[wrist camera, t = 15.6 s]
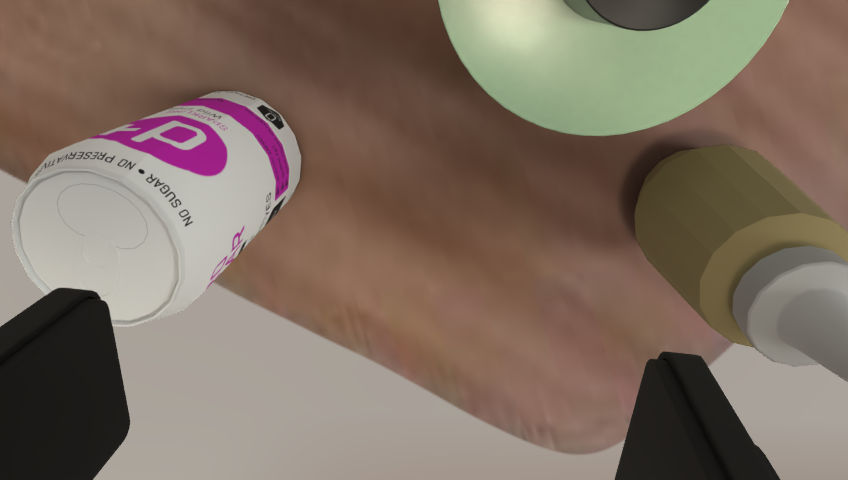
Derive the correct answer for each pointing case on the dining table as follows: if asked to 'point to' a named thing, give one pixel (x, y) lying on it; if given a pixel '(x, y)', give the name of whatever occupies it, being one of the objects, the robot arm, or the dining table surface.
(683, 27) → the lid
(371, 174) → the dining table surface
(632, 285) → the dining table surface
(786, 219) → the squeeze bottle
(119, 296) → the supplement can
